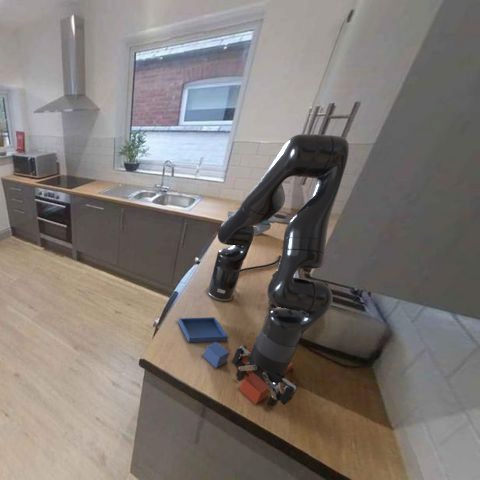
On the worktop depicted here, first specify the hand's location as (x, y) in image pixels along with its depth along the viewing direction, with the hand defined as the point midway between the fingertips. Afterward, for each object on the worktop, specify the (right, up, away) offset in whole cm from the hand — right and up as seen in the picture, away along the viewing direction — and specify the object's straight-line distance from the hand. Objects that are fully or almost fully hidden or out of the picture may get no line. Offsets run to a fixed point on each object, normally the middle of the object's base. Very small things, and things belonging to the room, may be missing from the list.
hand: (254, 390), depth 69 cm
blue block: (-5, +4, +10) cm, 12 cm away
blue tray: (-4, +9, +21) cm, 23 cm away
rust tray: (+8, +3, +8) cm, 12 cm away
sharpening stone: (+61, +47, +97) cm, 124 cm away
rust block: (0, -1, +1) cm, 1 cm away
